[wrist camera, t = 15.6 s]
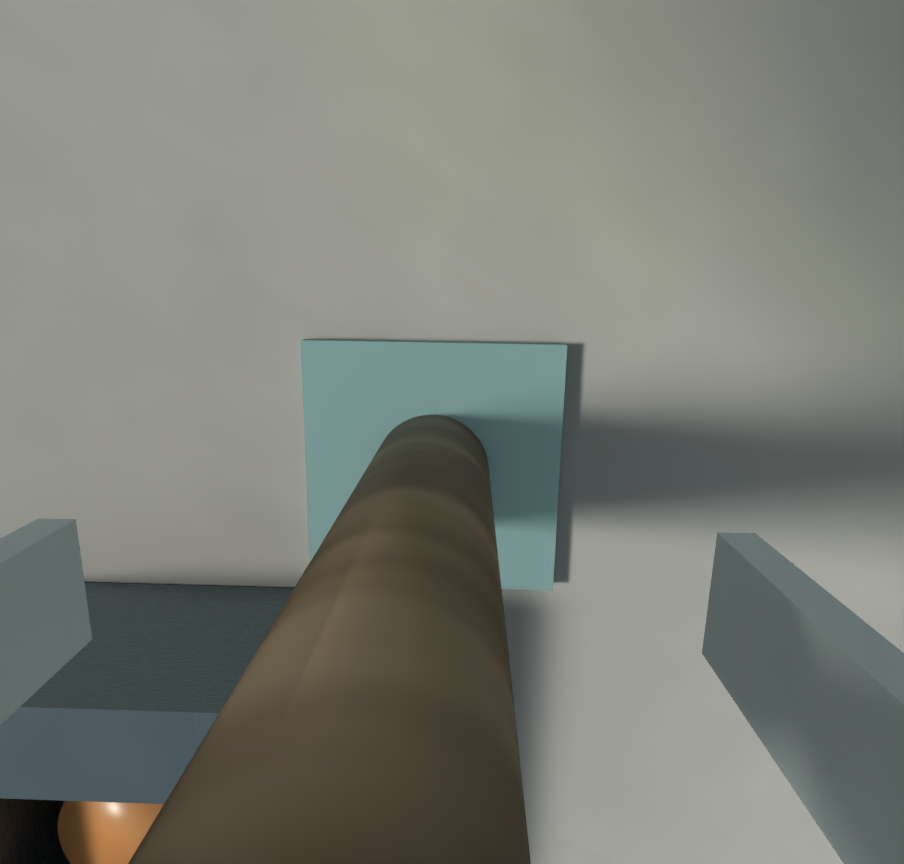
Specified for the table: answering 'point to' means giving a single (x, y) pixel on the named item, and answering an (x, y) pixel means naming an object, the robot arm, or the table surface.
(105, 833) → the button
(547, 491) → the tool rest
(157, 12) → the table surface
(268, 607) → the box
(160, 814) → the brown rounded rod
